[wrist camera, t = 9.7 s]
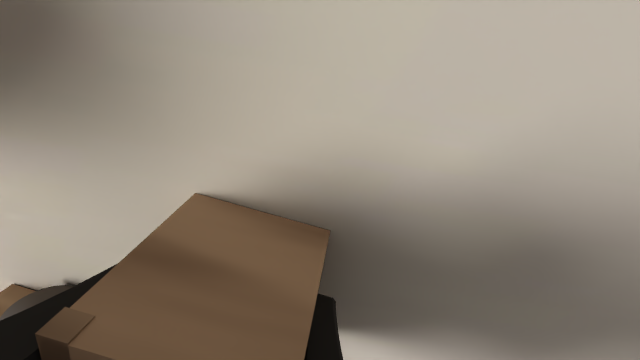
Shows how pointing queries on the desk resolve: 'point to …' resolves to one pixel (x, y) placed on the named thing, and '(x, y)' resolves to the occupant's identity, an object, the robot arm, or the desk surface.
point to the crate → (200, 292)
